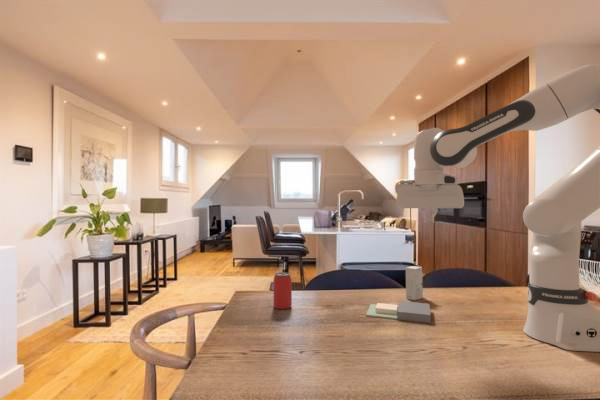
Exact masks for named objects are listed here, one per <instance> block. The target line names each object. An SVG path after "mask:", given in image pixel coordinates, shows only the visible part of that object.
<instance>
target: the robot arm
mask: <svg viewBox="0 0 600 400" xmlns="http://www.w3.org/2000/svg"><path fill="white" fill-rule="evenodd" d="M590 110H595V112H597V113H598V114H599V115H600V65H599V64H597V63H589V64H585V65H582V66H579V67H577V68H574V69H571V70H568V71H566V72H565V73H562V74H560V75H557V76H556V77H554V78H551V79H550V80H548V81H546V82H545V83H543V84H541V85H539V86H537V87H536V88H534V89H532V90H530V91H529V92H527V93H526V94H524V95H522V96H521V97H519V98H517V99H516V100H514V101H513V102H511V103H508V104H507V105H505V106H503V107H502V108H499V109H497V110H495V111H493V112H491V113H489V114H487V115H485V116H483V117H481V118H480V119H477V120H475V121H473V122H471V123H469V124H467V125H464V126H462V127H457V128H450V129H446V130H442V129H441V128H440V127H429V128H425V129H423V130H420V131H419V132H418V133H417V134H416V136H415V138H414V146H413V159H414V164H415V165H414V169H413V177H414V178H413V179H411V180H410V179H409V180H399V181H398V182H396V183H395V185H394V191H395V193H396V201H395V202H396V203H395V205H396V207H397V208H398V209H420V213H421V215H422V216H423V218H424V219H423V220H424V221H423V222H424V223H425V224H426V223H427V224H430V223H431V224H432V223H433V224H434V223H435V217H436V216H437V214H438V213H439V210H438V209H462V208H464V207H465V198H464V197H465V196H464V191H463V188H462V187H461V185H460V184H459V183H460V178H459V176H458V177H457V176H455V175H451V174H446V173H444V170H445V169H444V168H445V167H451V168H458V169H459V168H460V169H461V168H465V167H467V166H470V165H471V164H473V162H474V161H475V160H476V159H477V156H478V147H479V146H481V145H482V144H483V145H484V144H485V143H487V142H490V141H492V140H493V139H496V138H497V137H500V136H502V135H505V134H507V133H510V132H516V131H533V132H535V131H541V130H545V129H548V128H550V127H553V126H556V125H559V124H560V123H562V122H565V121H567V120H569V119H571V118H573V117H575V116H576V115H580V114H581V113H584V112H586V111H590ZM426 209H432V213H433V214H432V215H431V216H426ZM599 209H600V145H599V146H598V147H597V148H596V149H595V150H593V151H592V152H591V153H590V154H588V155H587V156H586V157H585V158H584V159H583V160H582V161H581V162H580V163H579V164H578V165H576V166H575V167H574V168H573V169H571V170H570V171H569V172H568V173H567V174H566V175H564V176H563V177H561V178H560V179H558V180H557V181H555V182H554V183H553V184H552V185H550V186H549V187H547V188H546V189H545V190H544V191H542V192H541V193H540V194H539V195H537V197H535V198H534V199H532V201H530V202H529V203H528V204H527V205H526V206H525V208H524V210H523V211H522V212H523V213H522V221H523V223H524V225H525V227H526V228H527V229H528V230H529V231H530V232H532V236H531V237H532V238H531V245H530V250H529V254H528V256H529V257H528V262H529V263H528V270H529V282H527V288H526V289H527V290H526V294H527V298H526V299H527V303H528V310H527V314H526V315H527V317H526V320H525V323H524V327H523V329H522V331H523V332H524V333H525V334H526V335H527V336H529V337H530V338H533V339H535V340H537V341H540V342H544V343H547V344H550V345H554V346H556V347H558V348H561V349H564V350H565V351H566V350H567V351H579V352H595V353H600V310H599V309H598V308H596V307H595V306H594V305H592V304H591V303H589V301H590V302H591V301H592V302H596V300H597V299H598V295H597V294H596V293H594V292H592V291H587V290H585V289H583V288H582V287H580V283H581V282H580V281H581V280H580V251H581V241H582V240H581V239H582V221H584V220H585V219H586V218H588V217H589V216H591V215H593V213H594V212H596V211H597V210H599Z"/></svg>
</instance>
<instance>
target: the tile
mask: <svg viewBox="0 0 600 400" xmlns="http://www.w3.org/2000/svg"><path fill="white" fill-rule="evenodd" d="M398 305H399V304H393V303H382V302H377V303H376V308H375V312H376V313H386V314H395V315H397V310H398Z"/></svg>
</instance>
